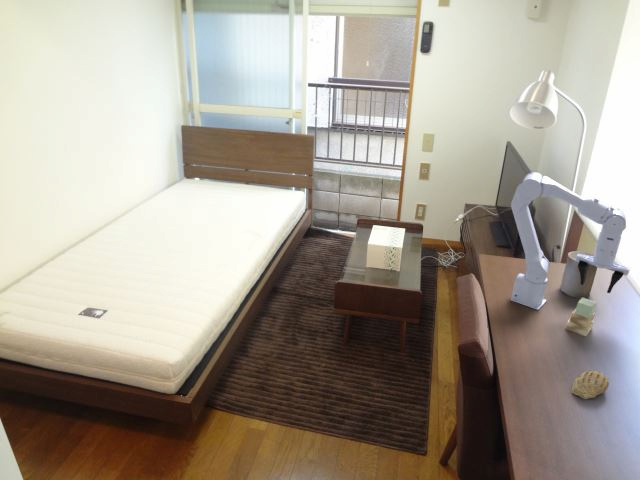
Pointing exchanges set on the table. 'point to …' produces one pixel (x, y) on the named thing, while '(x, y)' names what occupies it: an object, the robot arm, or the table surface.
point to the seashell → (590, 384)
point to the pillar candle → (577, 277)
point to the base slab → (578, 328)
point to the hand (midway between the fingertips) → (595, 287)
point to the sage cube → (585, 308)
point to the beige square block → (581, 319)
